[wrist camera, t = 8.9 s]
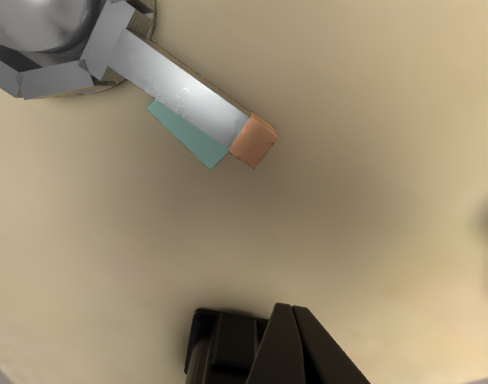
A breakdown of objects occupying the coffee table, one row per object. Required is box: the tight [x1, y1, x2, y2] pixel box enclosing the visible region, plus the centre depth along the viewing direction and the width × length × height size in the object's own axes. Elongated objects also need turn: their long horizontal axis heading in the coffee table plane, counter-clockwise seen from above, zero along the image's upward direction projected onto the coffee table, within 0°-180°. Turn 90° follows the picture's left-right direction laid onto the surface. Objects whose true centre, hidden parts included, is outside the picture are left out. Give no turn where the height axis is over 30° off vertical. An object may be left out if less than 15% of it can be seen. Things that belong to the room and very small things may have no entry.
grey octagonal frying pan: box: [0, 0, 278, 169], centre depth 15 cm, size 18×10×3 cm, turn 55°
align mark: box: [147, 99, 228, 170], centre depth 18 cm, size 5×2×1 cm, turn 44°
